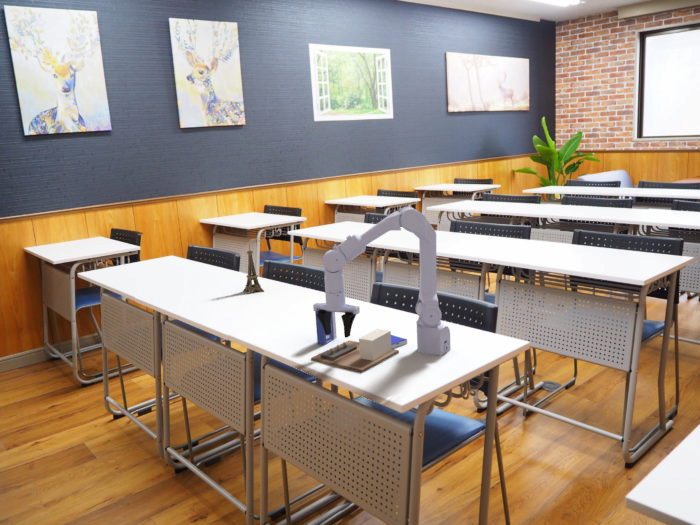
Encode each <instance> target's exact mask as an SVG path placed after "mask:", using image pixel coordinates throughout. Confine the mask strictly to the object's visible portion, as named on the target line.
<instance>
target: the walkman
mask: <svg viewBox="0 0 700 525" xmlns="http://www.w3.org/2000/svg"><path fill="white" fill-rule="evenodd" d="M314 312H315V326H316V328H315V329H316V340H317V342H316V343H317V345H320V346H326V345H327V344H329V343H331V342H333V341H334V340H335V339H337V338H338V337H337V325H336V324H337V322H336V312H331V334H329V335H328V336H327V335H326V334H325V331H324V328H323V326H322V324H321V322H320V320H319V318H318V317H317V313H318V312H319V311H314Z"/></svg>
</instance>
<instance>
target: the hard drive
mask: <svg viewBox="0 0 700 525" xmlns="http://www.w3.org/2000/svg"><path fill="white" fill-rule="evenodd" d="M407 344H408V339H407V338H405V337H399V336H396V335H394V334H391V349H395V348H398V347H401V346H404V345H407Z"/></svg>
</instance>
